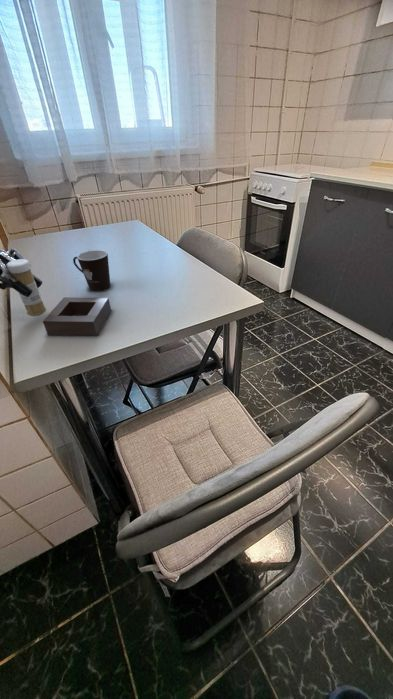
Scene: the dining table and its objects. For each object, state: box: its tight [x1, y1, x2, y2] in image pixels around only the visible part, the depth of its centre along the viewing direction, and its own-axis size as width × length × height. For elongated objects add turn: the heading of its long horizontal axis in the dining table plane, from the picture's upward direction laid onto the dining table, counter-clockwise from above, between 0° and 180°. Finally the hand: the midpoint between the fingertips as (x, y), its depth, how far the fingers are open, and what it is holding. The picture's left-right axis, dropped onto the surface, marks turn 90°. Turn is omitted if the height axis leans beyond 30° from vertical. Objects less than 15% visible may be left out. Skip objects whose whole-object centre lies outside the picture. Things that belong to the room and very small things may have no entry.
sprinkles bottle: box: [7, 258, 47, 317], centre depth 72 cm, size 5×5×13 cm
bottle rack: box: [42, 296, 112, 337], centre depth 73 cm, size 12×12×4 cm
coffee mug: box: [72, 249, 111, 292], centre depth 89 cm, size 12×9×10 cm
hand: (35, 289), depth 72 cm, fingers closed on sprinkles bottle, 4 cm apart
